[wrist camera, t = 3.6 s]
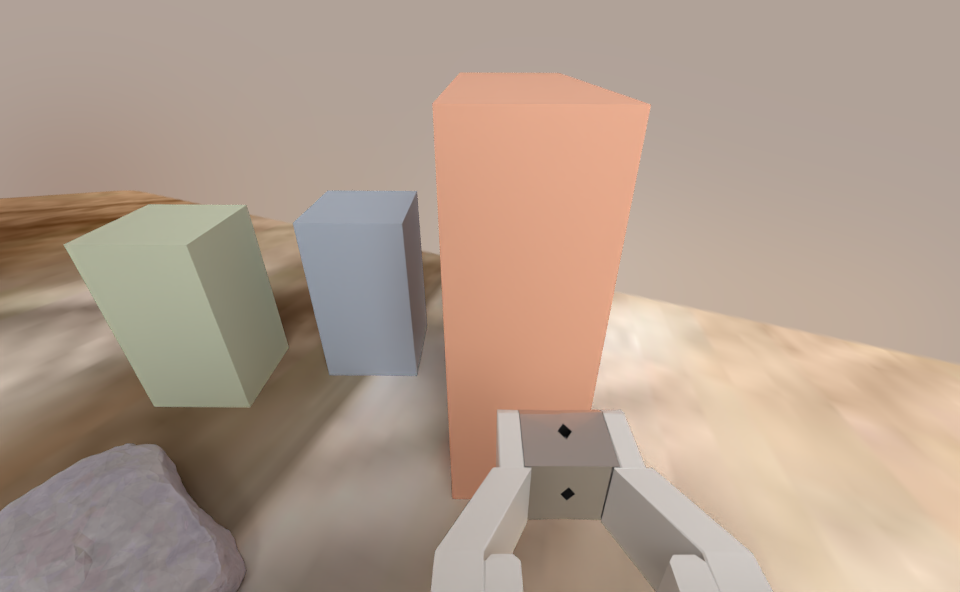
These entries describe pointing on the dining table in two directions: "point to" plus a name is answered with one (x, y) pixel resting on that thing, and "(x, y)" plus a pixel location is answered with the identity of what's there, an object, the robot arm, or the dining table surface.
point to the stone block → (115, 531)
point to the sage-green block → (186, 301)
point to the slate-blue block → (366, 280)
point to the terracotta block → (527, 245)
